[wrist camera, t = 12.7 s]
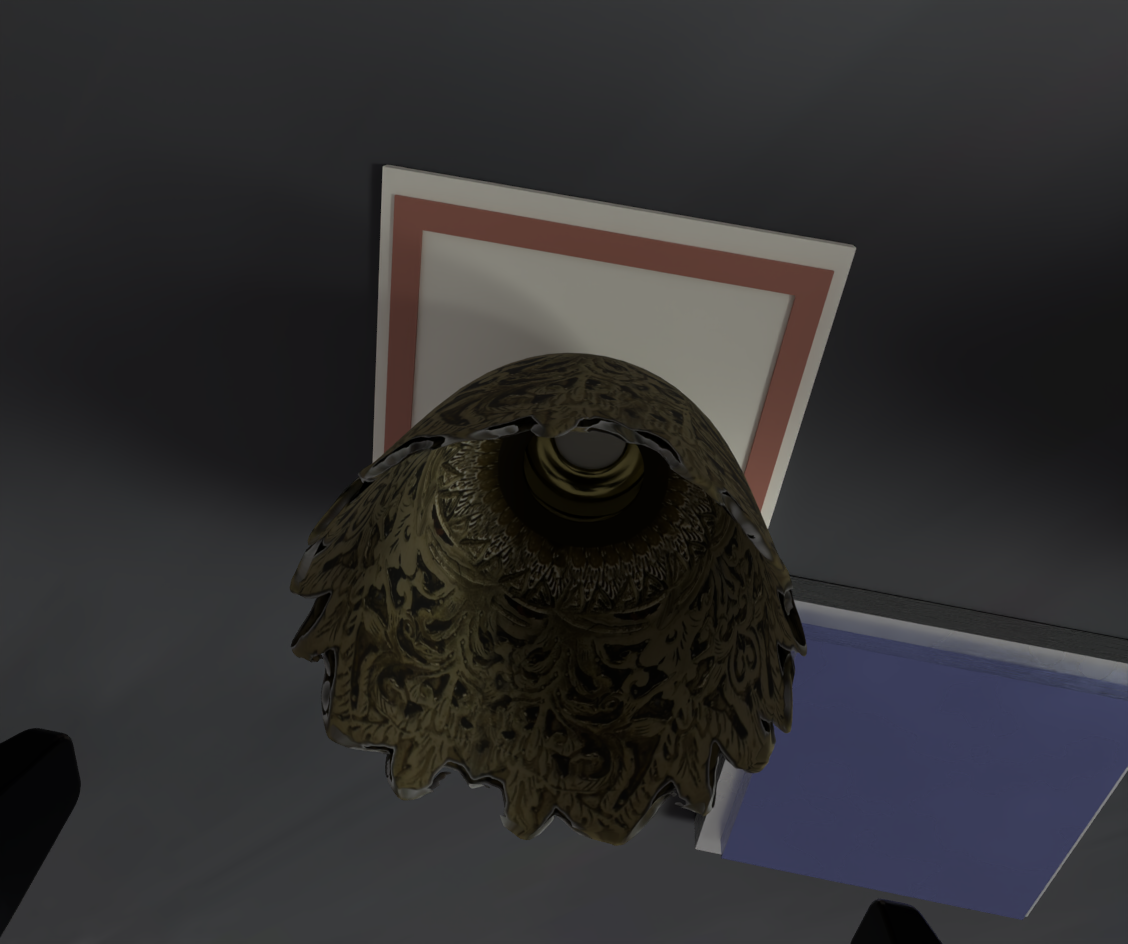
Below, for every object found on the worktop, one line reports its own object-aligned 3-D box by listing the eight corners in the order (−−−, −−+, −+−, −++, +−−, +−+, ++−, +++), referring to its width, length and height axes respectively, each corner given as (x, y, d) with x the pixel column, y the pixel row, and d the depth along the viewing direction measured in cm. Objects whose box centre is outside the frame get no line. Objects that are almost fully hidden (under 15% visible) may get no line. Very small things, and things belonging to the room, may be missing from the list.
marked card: (853, 245, 16) (857, 249, 16) (732, 631, 21) (733, 641, 20) (387, 164, 16) (381, 166, 16) (373, 561, 21) (367, 570, 21)
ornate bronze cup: (821, 363, 17) (925, 583, 10) (667, 612, 20) (662, 906, 13) (495, 215, 16) (360, 338, 9) (394, 498, 20) (238, 742, 13)
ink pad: (1169, 647, 19) (1207, 694, 18) (1013, 884, 24) (1034, 937, 22) (776, 573, 20) (783, 612, 18) (694, 820, 24) (695, 867, 23)
